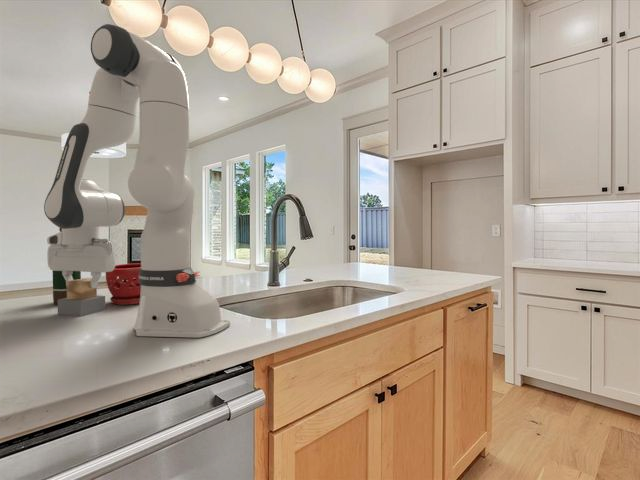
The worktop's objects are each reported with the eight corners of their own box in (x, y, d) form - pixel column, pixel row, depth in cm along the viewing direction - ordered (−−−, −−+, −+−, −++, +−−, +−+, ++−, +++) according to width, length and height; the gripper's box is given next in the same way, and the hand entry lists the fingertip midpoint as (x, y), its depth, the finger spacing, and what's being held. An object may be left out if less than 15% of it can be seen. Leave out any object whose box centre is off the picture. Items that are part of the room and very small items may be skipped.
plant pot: (123, 297, 123) (122, 262, 123) (160, 298, 122) (159, 263, 122) (96, 306, 110) (95, 267, 110) (137, 307, 109) (136, 267, 109)
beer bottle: (86, 302, 116) (85, 227, 115) (59, 306, 109) (57, 227, 108) (75, 299, 120) (73, 226, 119) (47, 303, 113) (46, 226, 113)
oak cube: (96, 296, 104) (96, 279, 104) (81, 300, 100) (81, 282, 99) (82, 295, 106) (82, 278, 105) (66, 299, 101) (66, 281, 101)
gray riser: (105, 309, 106) (105, 296, 106) (81, 316, 98) (80, 301, 98) (83, 307, 108) (83, 294, 108) (57, 314, 100) (57, 299, 100)
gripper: (120, 238, 102) (121, 287, 103) (63, 237, 108) (64, 283, 108) (101, 239, 96) (102, 290, 97) (42, 238, 101) (43, 287, 102)
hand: (81, 287), depth 103 cm, fingers open, 6 cm apart
